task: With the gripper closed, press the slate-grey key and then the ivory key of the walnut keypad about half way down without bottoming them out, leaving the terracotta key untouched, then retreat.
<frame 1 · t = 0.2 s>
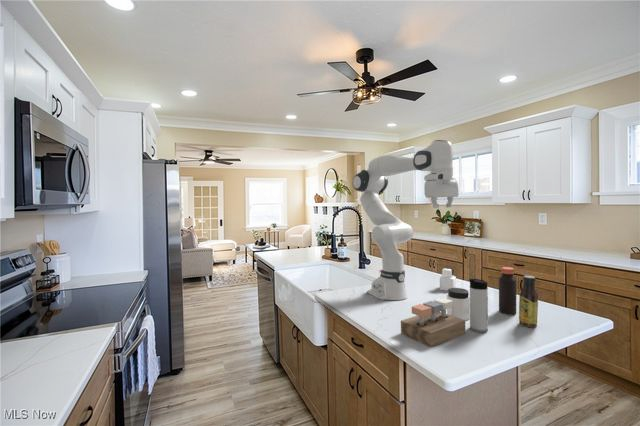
hand: (442, 207, 140), 48 cm above the counter, fingers open, 8 cm apart
keypad base: (433, 333, 121), on the counter
sauce bottle: (528, 325, 127), on the counter
jar: (458, 318, 136), on the counter
key slate: (432, 313, 121), point 8 cm above the counter, slide at 0.0 cm
key terracotta: (421, 317, 117), point 8 cm above the counter, slide at 0.0 cm
travel mug: (478, 330, 124), on the counter
key ivory: (443, 309, 124), point 8 cm above the counter, slide at 0.0 cm
vinegar: (507, 312, 141), on the counter
medicine bottle: (447, 289, 179), on the counter
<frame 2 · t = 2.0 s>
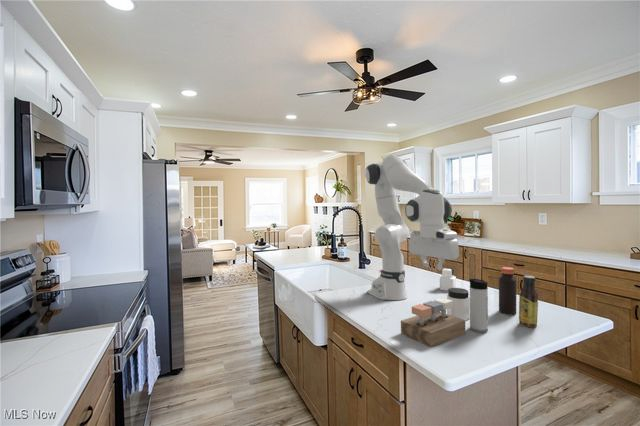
hand: (432, 268, 120), 25 cm above the counter, fingers open, 4 cm apart
nothing on the counter moved.
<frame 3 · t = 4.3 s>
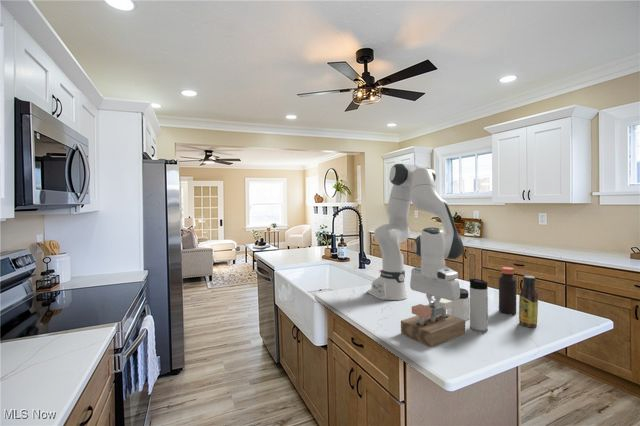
hand: (433, 306, 121), 10 cm above the counter, fingers closed, pressing on key slate
key slate: (432, 316, 121), point 7 cm above the counter, slide at 1.1 cm, touching gripper
everything else where it was.
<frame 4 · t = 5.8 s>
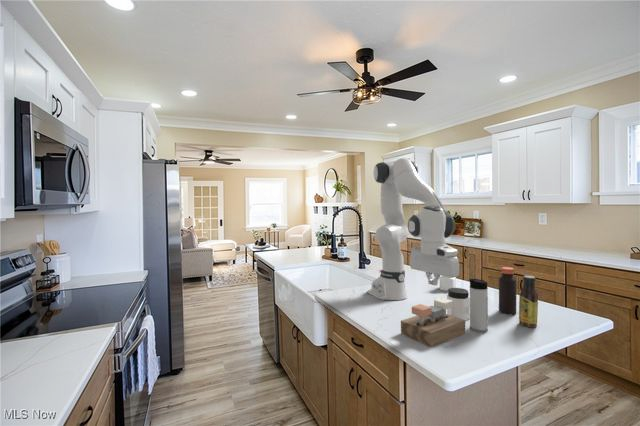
hand: (432, 284, 121), 19 cm above the counter, fingers closed
key slate: (432, 318, 121), point 6 cm above the counter, slide at 1.9 cm
everything else where it was.
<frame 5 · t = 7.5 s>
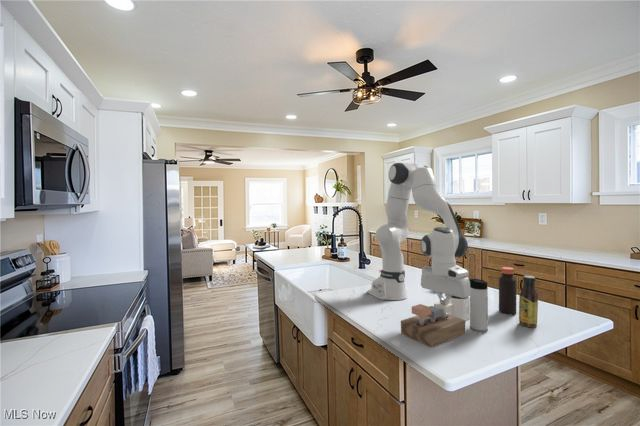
hand: (444, 303, 124), 10 cm above the counter, fingers closed, pressing on key ivory
key ivory: (443, 313, 124), point 6 cm above the counter, slide at 1.4 cm, touching gripper
everything else where it was.
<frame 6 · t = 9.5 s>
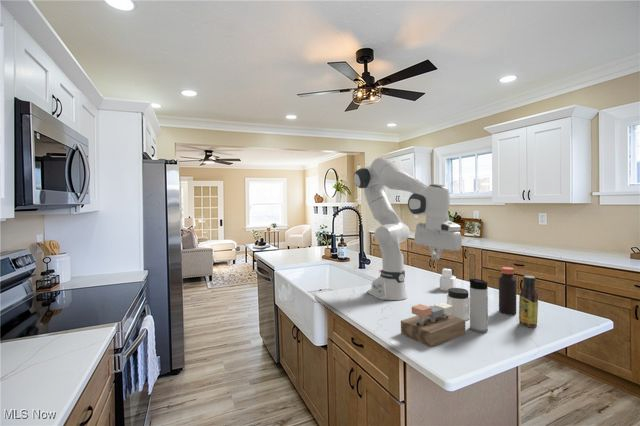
hand: (435, 258, 129), 27 cm above the counter, fingers closed
key ivory: (443, 314, 124), point 6 cm above the counter, slide at 1.9 cm
everything else where it was.
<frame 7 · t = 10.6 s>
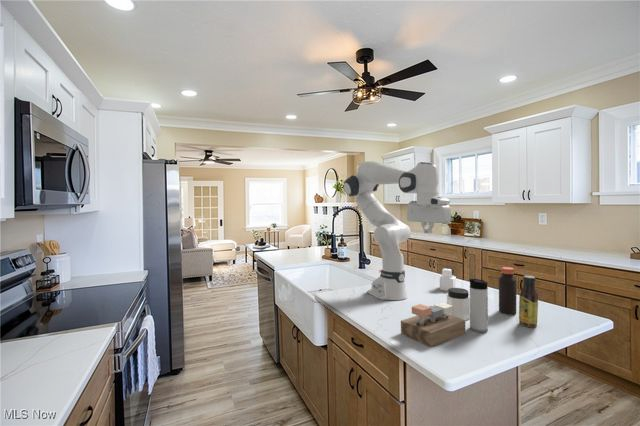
hand: (427, 233, 133), 37 cm above the counter, fingers closed
nothing on the counter moved.
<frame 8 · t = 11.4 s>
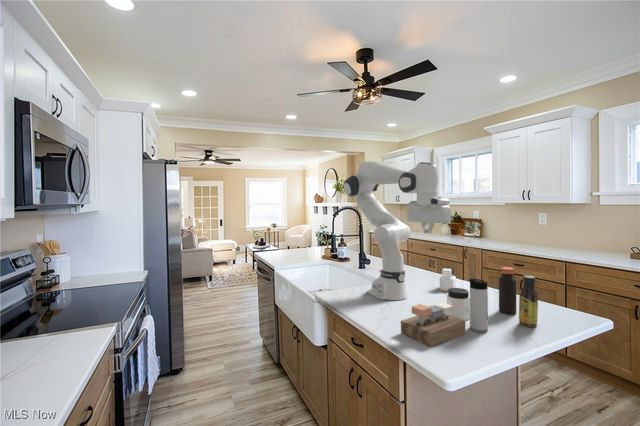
hand: (427, 233, 133), 37 cm above the counter, fingers closed
nothing on the counter moved.
at the end: key slate slide at 1.9 cm; key ivory slide at 1.9 cm; key terracotta slide at 0.0 cm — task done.
